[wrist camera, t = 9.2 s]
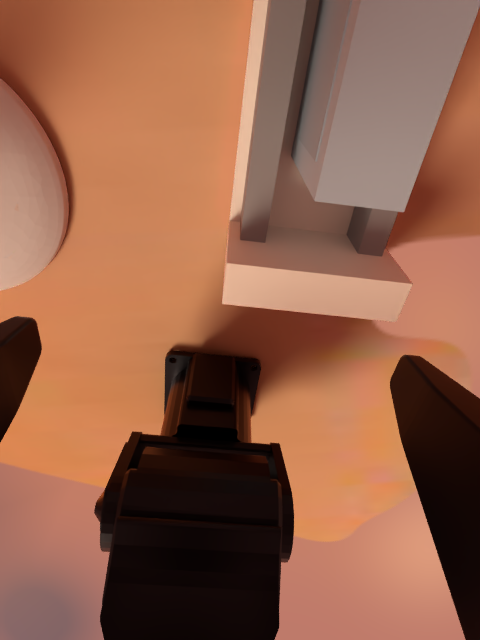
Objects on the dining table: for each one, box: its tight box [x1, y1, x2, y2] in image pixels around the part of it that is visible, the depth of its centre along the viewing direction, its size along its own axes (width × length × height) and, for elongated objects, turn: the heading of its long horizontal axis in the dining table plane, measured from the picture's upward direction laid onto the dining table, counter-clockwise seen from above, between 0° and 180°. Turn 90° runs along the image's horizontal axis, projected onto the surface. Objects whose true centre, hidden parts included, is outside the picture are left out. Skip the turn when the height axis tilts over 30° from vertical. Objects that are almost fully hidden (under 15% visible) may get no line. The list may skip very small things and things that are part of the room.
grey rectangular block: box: [291, 0, 480, 212], centre depth 13 cm, size 9×3×7 cm, turn 173°
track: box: [222, 0, 413, 322], centre depth 14 cm, size 20×8×6 cm, turn 173°
